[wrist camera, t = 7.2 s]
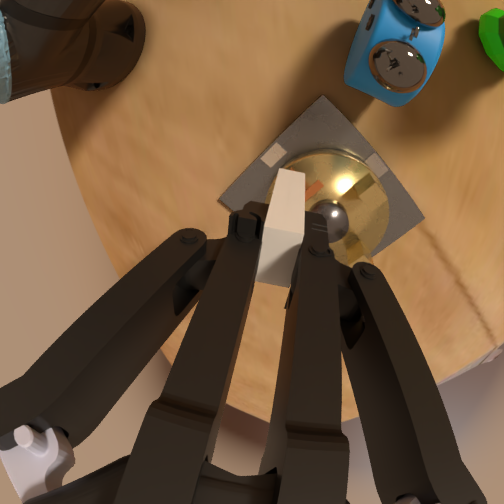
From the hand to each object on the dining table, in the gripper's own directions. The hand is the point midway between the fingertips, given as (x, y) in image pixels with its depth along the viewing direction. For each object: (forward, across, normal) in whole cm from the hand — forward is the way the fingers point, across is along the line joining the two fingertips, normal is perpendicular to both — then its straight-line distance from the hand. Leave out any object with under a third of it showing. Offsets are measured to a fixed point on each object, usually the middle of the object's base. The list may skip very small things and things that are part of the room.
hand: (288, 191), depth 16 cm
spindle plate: (+20, +6, -9) cm, 23 cm away
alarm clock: (+21, +8, +13) cm, 26 cm away
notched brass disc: (+19, +6, -9) cm, 22 cm away
